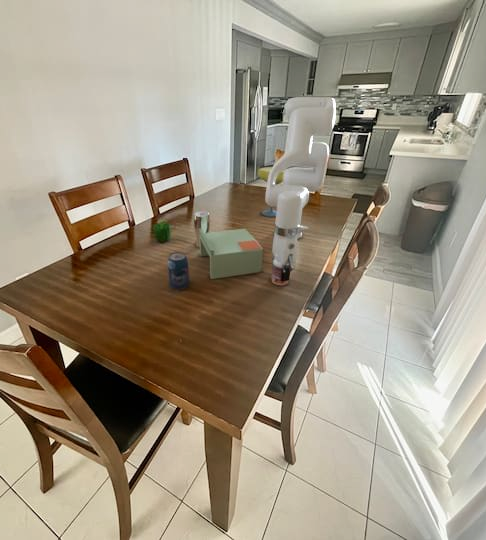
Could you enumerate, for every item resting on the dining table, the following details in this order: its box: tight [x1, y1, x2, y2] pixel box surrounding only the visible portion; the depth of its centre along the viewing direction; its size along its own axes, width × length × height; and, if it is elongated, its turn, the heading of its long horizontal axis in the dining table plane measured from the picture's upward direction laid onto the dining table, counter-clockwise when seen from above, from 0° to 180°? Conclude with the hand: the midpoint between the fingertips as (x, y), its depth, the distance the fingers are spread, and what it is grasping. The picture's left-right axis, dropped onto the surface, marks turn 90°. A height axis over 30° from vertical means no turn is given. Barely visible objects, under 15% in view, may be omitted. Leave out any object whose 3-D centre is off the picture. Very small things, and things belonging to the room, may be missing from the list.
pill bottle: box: [271, 254, 289, 286], centre depth 105 cm, size 6×6×11 cm
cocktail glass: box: [257, 164, 291, 218], centre depth 163 cm, size 18×18×25 cm
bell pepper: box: [152, 219, 172, 243], centre depth 136 cm, size 8×8×10 cm
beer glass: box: [193, 210, 211, 249], centre depth 130 cm, size 7×7×15 cm
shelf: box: [199, 228, 264, 280], centre depth 117 cm, size 20×20×12 cm
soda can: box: [167, 251, 190, 291], centre depth 103 cm, size 7×7×12 cm
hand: (280, 275), depth 107 cm, fingers closed on pill bottle, 6 cm apart
